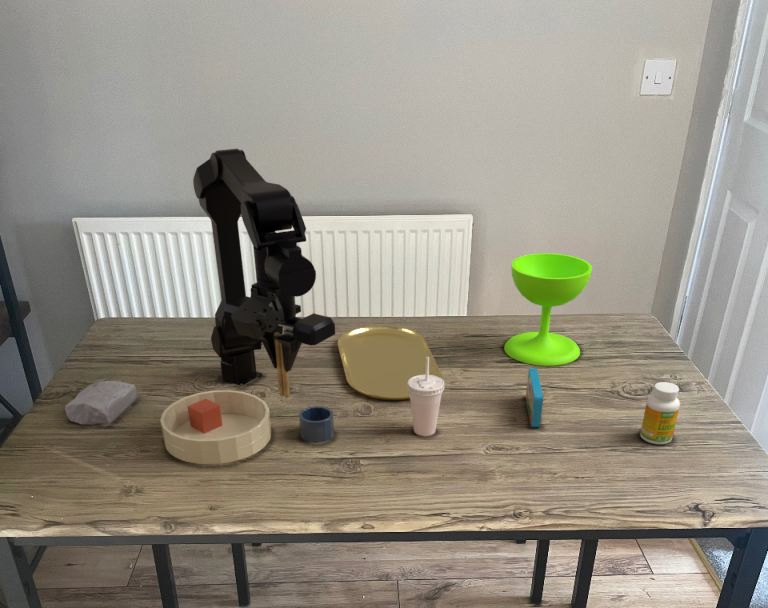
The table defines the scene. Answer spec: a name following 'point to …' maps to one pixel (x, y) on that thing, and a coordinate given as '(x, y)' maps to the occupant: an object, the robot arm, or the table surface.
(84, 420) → the stone block
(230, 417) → the bowl
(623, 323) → the table surface
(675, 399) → the supplement bottle
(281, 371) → the chopsticks
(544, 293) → the wineglass
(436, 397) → the smoothie
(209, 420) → the block
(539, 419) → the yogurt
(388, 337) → the serving platter
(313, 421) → the holder
